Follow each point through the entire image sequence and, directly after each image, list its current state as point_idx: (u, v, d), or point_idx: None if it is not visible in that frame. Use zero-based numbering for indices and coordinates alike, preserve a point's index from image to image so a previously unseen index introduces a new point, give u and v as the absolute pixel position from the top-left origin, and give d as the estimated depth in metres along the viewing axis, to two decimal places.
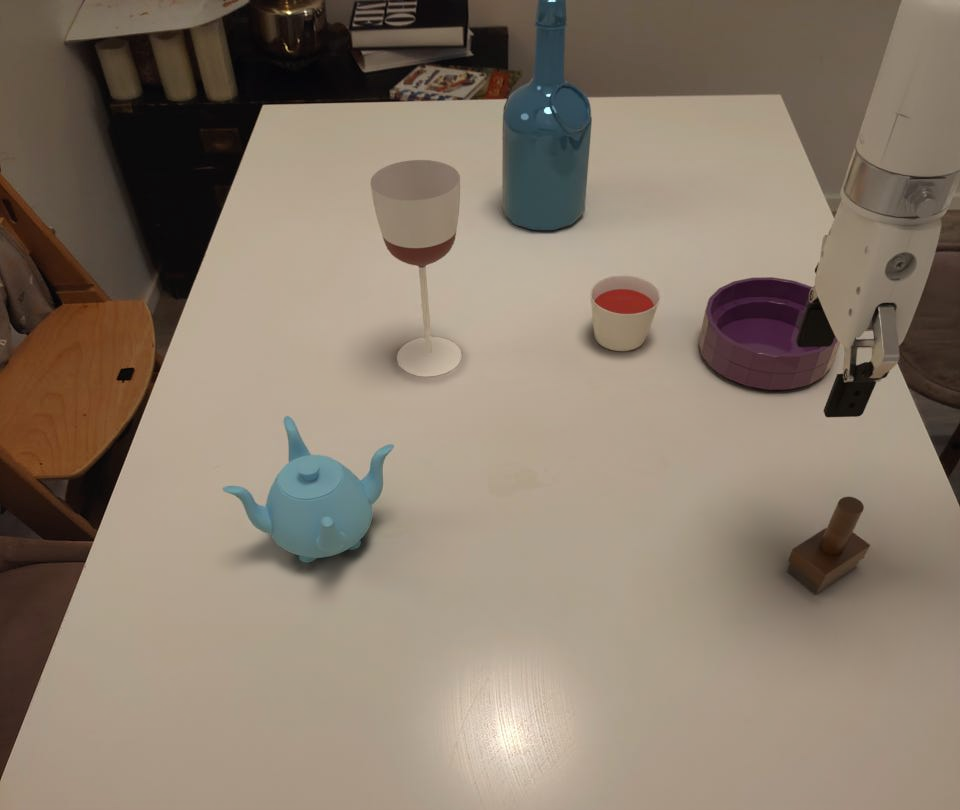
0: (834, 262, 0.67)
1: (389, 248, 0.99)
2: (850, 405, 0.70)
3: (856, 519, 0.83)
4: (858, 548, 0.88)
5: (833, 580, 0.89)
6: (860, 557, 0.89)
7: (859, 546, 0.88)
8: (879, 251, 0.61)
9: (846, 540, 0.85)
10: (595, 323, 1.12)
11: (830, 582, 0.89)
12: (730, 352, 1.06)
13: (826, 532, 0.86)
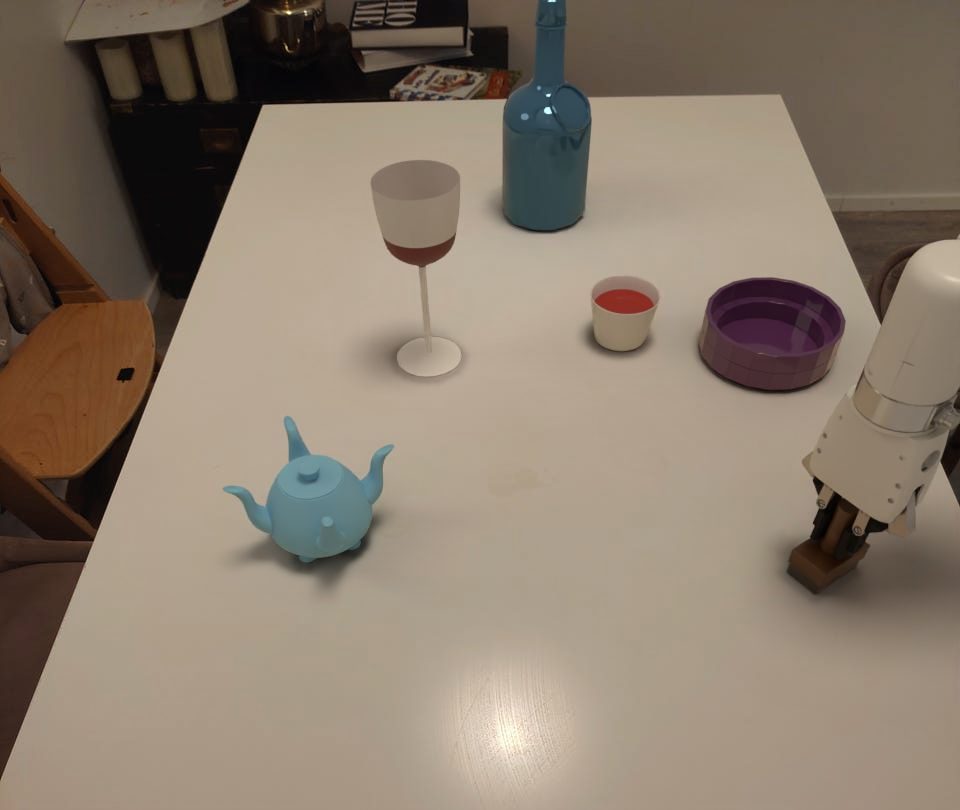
0: (849, 461, 0.77)
1: (389, 248, 0.99)
2: (858, 546, 0.85)
3: None
4: None
5: (833, 580, 0.89)
6: (860, 557, 0.89)
7: None
8: (917, 458, 0.72)
9: None
10: (595, 323, 1.12)
11: (830, 582, 0.89)
12: (730, 352, 1.06)
13: (826, 532, 0.86)
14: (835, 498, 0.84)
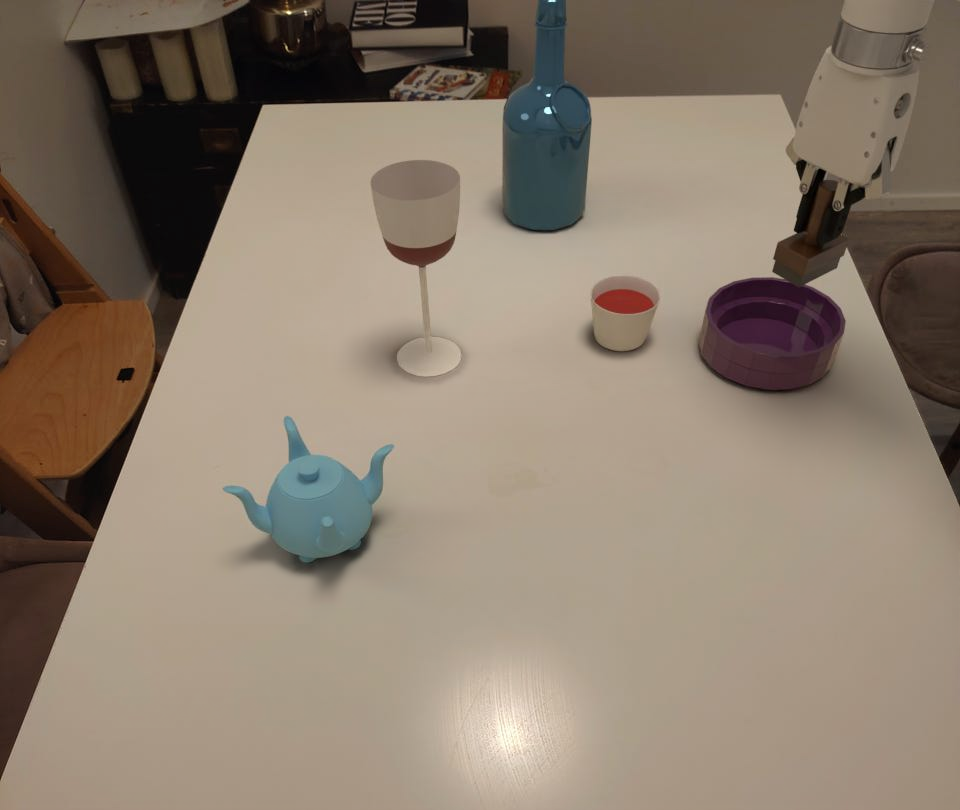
0: (829, 124, 0.84)
1: (389, 248, 0.99)
2: (838, 229, 0.91)
3: None
4: (838, 241, 0.94)
5: (815, 275, 0.96)
6: (840, 252, 0.95)
7: (839, 240, 0.94)
8: (889, 98, 0.79)
9: None
10: (595, 323, 1.12)
11: (812, 277, 0.95)
12: (730, 352, 1.06)
13: (808, 221, 0.93)
14: (817, 183, 0.91)
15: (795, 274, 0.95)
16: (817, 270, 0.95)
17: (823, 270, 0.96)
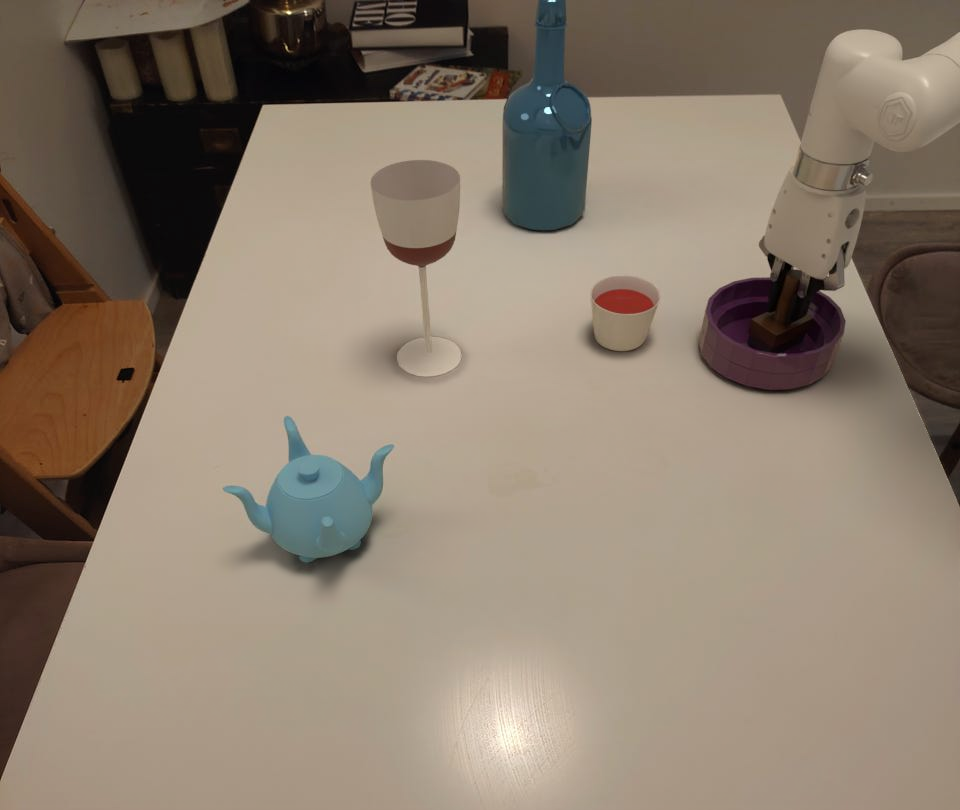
0: (792, 229, 1.00)
1: (389, 248, 0.99)
2: (803, 311, 1.07)
3: None
4: (804, 319, 1.10)
5: (783, 347, 1.11)
6: (805, 329, 1.11)
7: (804, 318, 1.10)
8: (841, 213, 0.95)
9: None
10: (595, 323, 1.12)
11: (781, 348, 1.11)
12: (730, 352, 1.06)
13: (778, 302, 1.08)
14: (785, 272, 1.07)
15: (766, 346, 1.10)
16: (785, 343, 1.11)
17: (790, 343, 1.12)
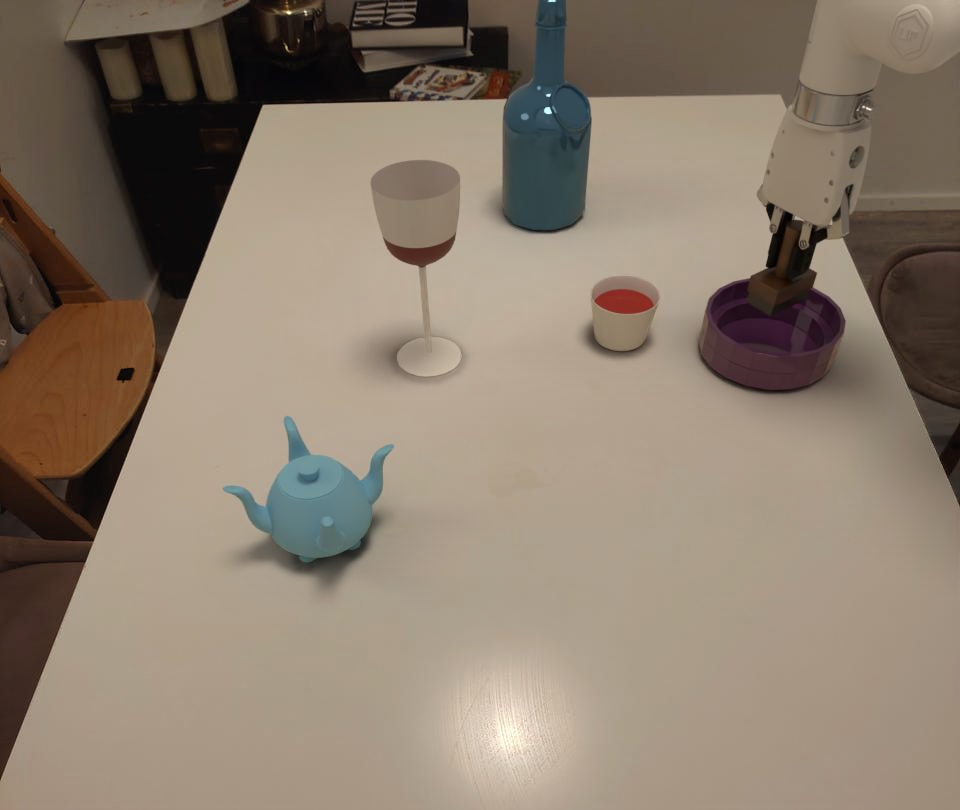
0: (792, 172, 0.93)
1: (389, 248, 0.99)
2: (805, 265, 1.00)
3: None
4: (807, 274, 1.03)
5: (786, 305, 1.04)
6: (809, 285, 1.04)
7: (808, 273, 1.03)
8: (844, 151, 0.87)
9: None
10: (595, 323, 1.12)
11: (783, 307, 1.04)
12: (730, 352, 1.06)
13: (778, 257, 1.01)
14: (785, 223, 0.99)
15: (767, 305, 1.03)
16: (787, 301, 1.03)
17: (793, 301, 1.04)
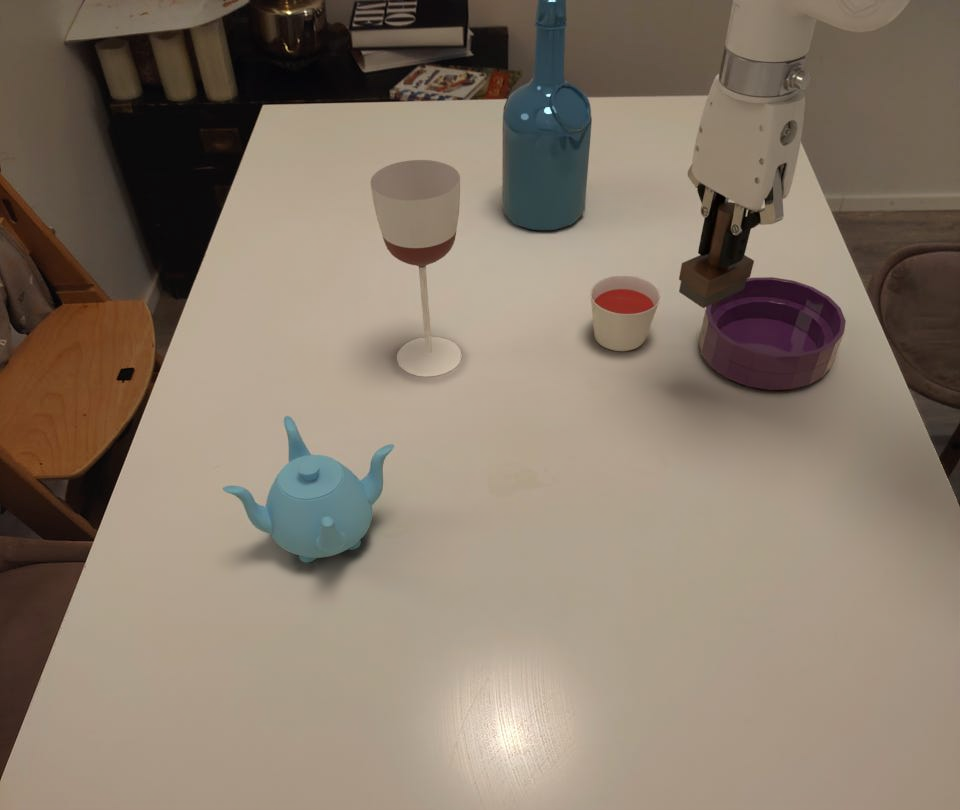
0: (721, 149, 0.84)
1: (389, 248, 0.99)
2: (739, 252, 0.92)
3: None
4: (743, 262, 0.94)
5: (720, 296, 0.96)
6: (745, 274, 0.95)
7: (744, 261, 0.94)
8: (774, 125, 0.79)
9: None
10: (595, 323, 1.12)
11: (717, 298, 0.96)
12: (730, 352, 1.06)
13: (711, 243, 0.93)
14: (717, 206, 0.91)
15: (699, 295, 0.95)
16: (722, 291, 0.95)
17: (729, 291, 0.96)
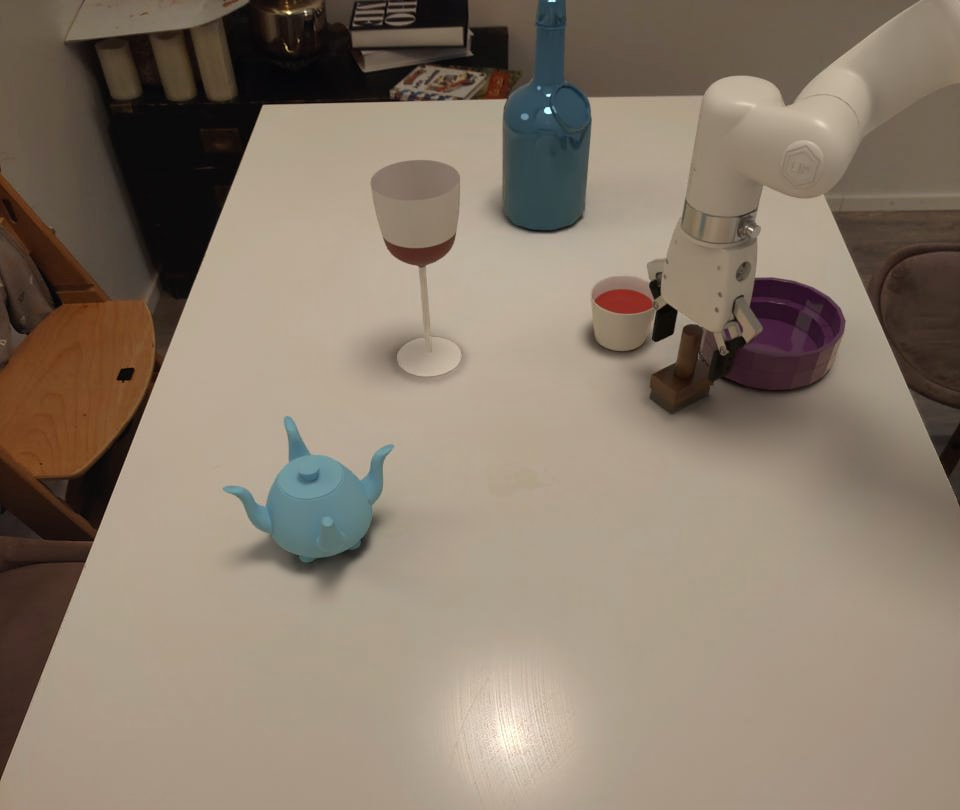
0: (685, 280, 0.94)
1: (389, 248, 0.99)
2: (726, 368, 0.99)
3: (697, 341, 1.00)
4: (706, 373, 1.05)
5: (687, 403, 1.06)
6: (709, 383, 1.06)
7: (707, 372, 1.05)
8: (730, 266, 0.89)
9: (693, 363, 1.03)
10: (595, 323, 1.12)
11: (684, 404, 1.06)
12: None
13: (677, 358, 1.03)
14: None
15: (667, 402, 1.05)
16: (688, 399, 1.06)
17: (694, 398, 1.07)
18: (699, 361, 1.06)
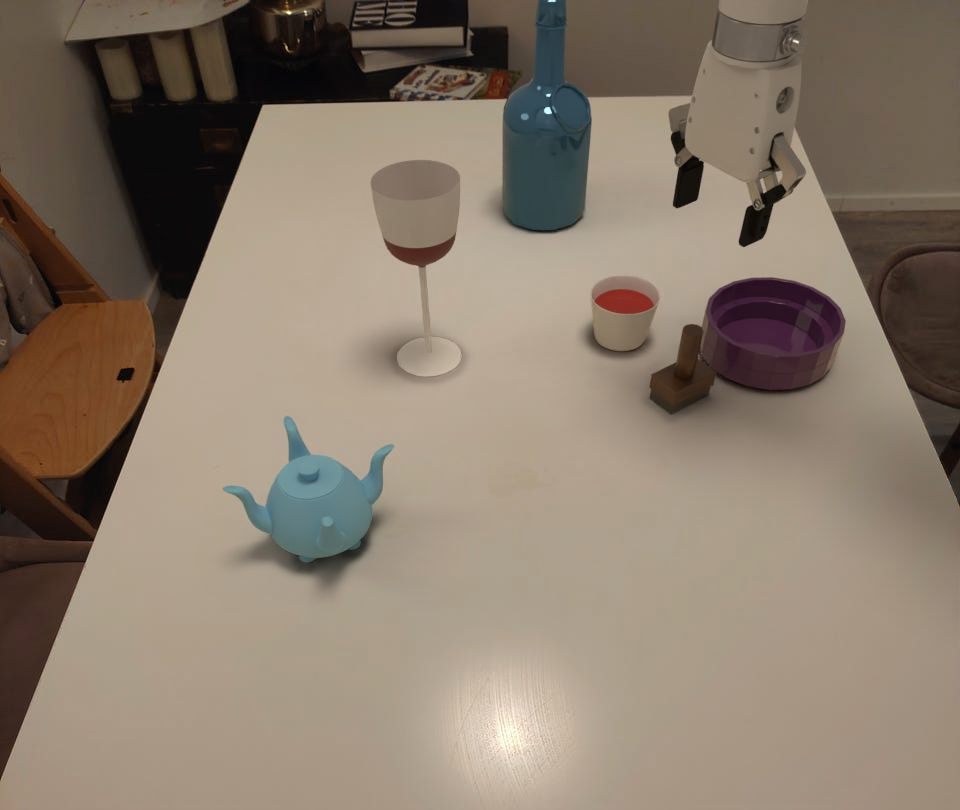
0: (715, 119, 0.81)
1: (389, 248, 0.99)
2: (761, 229, 0.86)
3: (697, 341, 1.00)
4: (706, 373, 1.05)
5: (687, 403, 1.06)
6: (709, 383, 1.06)
7: (707, 372, 1.05)
8: (770, 92, 0.76)
9: (693, 363, 1.03)
10: (595, 323, 1.12)
11: (684, 404, 1.06)
12: (730, 352, 1.06)
13: (677, 357, 1.03)
14: None
15: (667, 402, 1.05)
16: (688, 399, 1.06)
17: (694, 398, 1.07)
18: (699, 361, 1.06)
